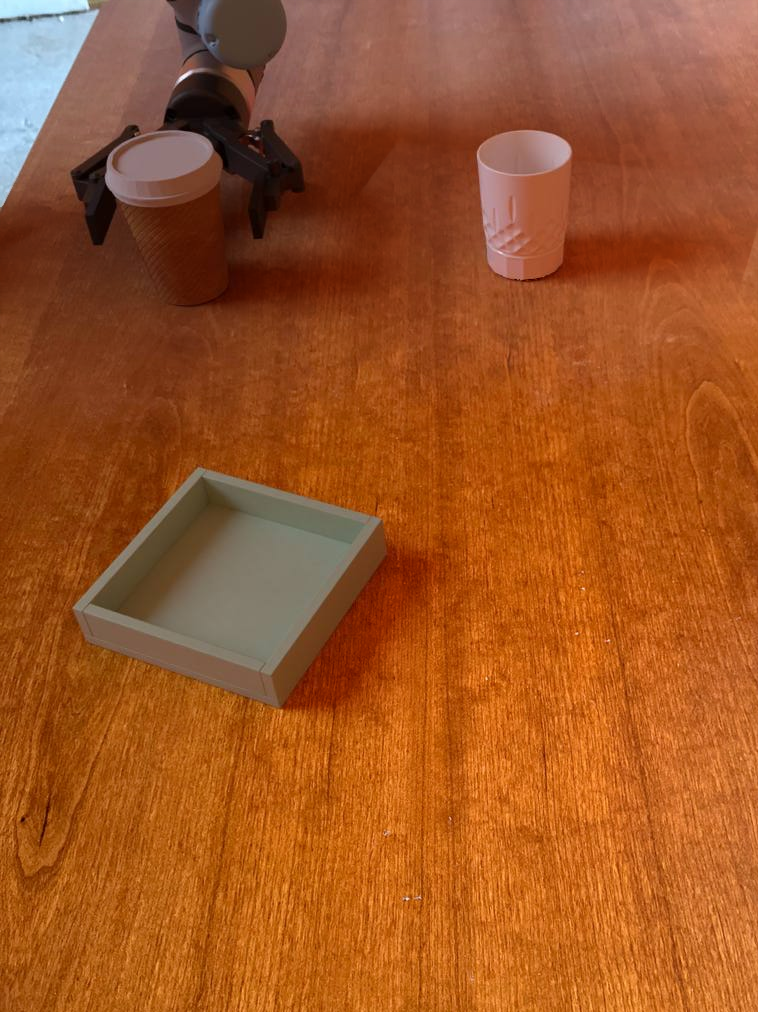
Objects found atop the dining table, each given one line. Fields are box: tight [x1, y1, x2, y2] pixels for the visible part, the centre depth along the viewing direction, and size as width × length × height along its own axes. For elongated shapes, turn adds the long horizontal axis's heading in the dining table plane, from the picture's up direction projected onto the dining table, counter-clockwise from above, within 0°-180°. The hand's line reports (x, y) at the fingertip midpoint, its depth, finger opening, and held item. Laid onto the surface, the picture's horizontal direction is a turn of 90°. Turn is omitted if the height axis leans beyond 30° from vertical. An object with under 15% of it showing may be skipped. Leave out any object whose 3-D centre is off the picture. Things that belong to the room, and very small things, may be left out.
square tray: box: [72, 466, 388, 709], centre depth 78 cm, size 15×15×3 cm
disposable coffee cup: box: [105, 130, 230, 307], centre depth 100 cm, size 10×10×12 cm
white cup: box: [476, 129, 573, 281], centre depth 101 cm, size 8×8×10 cm
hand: (174, 227), depth 98 cm, fingers open, 13 cm apart
